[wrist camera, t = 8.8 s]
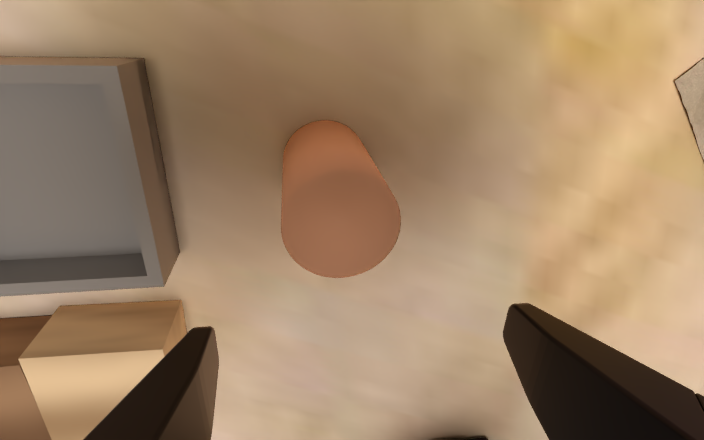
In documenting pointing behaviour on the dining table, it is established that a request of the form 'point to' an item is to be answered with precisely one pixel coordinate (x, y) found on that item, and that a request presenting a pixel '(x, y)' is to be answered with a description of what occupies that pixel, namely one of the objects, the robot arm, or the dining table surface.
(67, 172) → the tray
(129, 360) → the light wood rectangular prism
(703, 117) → the condiment
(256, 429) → the dining table surface
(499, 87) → the dining table surface
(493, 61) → the dining table surface
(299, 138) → the dowel
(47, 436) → the block
